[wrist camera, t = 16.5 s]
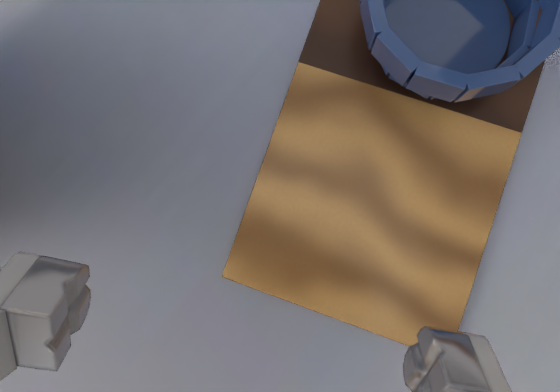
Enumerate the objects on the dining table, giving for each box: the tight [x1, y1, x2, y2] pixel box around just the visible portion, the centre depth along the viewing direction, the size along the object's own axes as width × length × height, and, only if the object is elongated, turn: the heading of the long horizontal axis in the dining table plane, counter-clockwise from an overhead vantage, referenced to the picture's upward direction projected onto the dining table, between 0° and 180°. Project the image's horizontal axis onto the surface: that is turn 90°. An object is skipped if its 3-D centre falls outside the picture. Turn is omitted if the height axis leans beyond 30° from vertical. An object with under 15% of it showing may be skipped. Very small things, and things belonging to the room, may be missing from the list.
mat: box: [299, 0, 545, 133], centre depth 34 cm, size 15×18×1 cm
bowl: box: [359, 0, 560, 102], centre depth 30 cm, size 13×13×6 cm
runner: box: [222, 62, 522, 346], centre depth 33 cm, size 18×18×1 cm
